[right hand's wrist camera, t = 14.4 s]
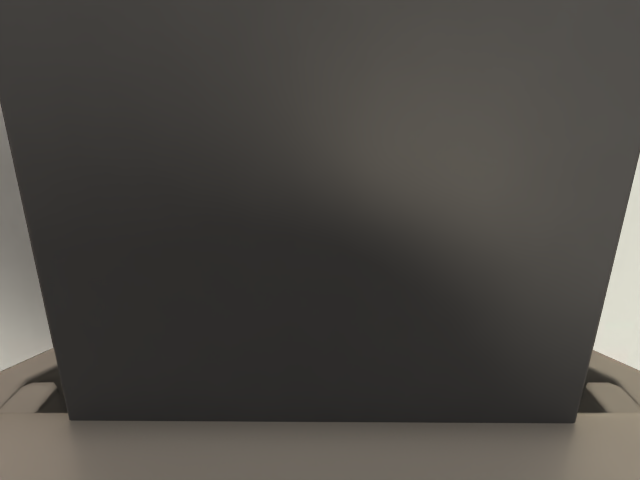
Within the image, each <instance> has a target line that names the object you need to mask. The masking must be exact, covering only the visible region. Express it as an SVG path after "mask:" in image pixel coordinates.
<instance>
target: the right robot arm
mask: <svg viewBox="0 0 640 480" xmlns="http://www.w3.org/2000/svg"><path fill="white" fill-rule="evenodd" d="M0 480H640V371H639V370H637V369H635V368H632V367H630V366H628V365H626V364H623V363H621V362H619V361H617V360H614V359H612V358H610V357H608V356H605V355H603V354H601V353H599V352H596V351H594V350H592V355H591V359H590V363H589V367H588V371H587V376H586V380H585V384H584V388H583V392H582V396H581V401H580V405H579V409H578V413H577V417H576V422H575V423H406V422H233V421H71V420H69V417H68V412H67V407H66V403H65V398H64V393H63V389H62V384H61V380H60V375H59V370H58V366H57V361H56V357H55V352H54V348H52V349H50V350H48V351H45V352H43V353H41V354H39V355H36V356H34V357H32V358H30V359H27V360H25V361H23V362H21V363H18V364H16V365H14V366H12V367H9V368H7V369H5V370H3V371H0Z"/></svg>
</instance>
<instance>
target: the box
mask: <svg viewBox="0 0 640 480" xmlns="http://www.w3.org/2000/svg"><path fill="white" fill-rule="evenodd" d="M0 103H1V107H2V112H3V117H4V121H5V126H6V130H7V135H8V140H9V144H10V149H11V153H12V158H13V163H14V167H15V172H16V177H17V181H18V186H19V190H20V195H21V200H22V204H23V209H24V213H25V218H26V223H27V227H28V232H29V237H30V241H31V246H32V250H33V255H34V260H35V264H36V269H37V273H38V278H39V283H40V287H41V292H42V297H43V301H44V306H45V310H46V315H47V320H48V324H49V329H50V333H51V338H52V343H53V347H54V352H55V357H56V361H57V366H58V370H59V375H60V380H61V384H62V389H63V393H64V398H65V403H66V407H67V412H68V417H69V420H71V421H233V422H406V423H575V422H576V417H577V413H578V409H579V405H580V401H581V396H582V392H583V388H584V384H585V380H586V376H587V371H588V367H589V363H590V359H591V355H592V350H593V346H594V342H595V338H596V334H597V329H598V325H599V321H600V317H601V313H602V309H603V304H604V300H605V296H606V292H607V288H608V283H609V279H610V275H611V271H612V267H613V263H614V258H615V254H616V250H617V246H618V242H619V237H620V233H621V229H622V225H623V221H624V217H625V212H626V208H627V204H628V200H629V196H630V191H631V187H632V183H633V179H634V175H635V170H636V166H637V162H638V158H639V154H640V0H0Z"/></svg>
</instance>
